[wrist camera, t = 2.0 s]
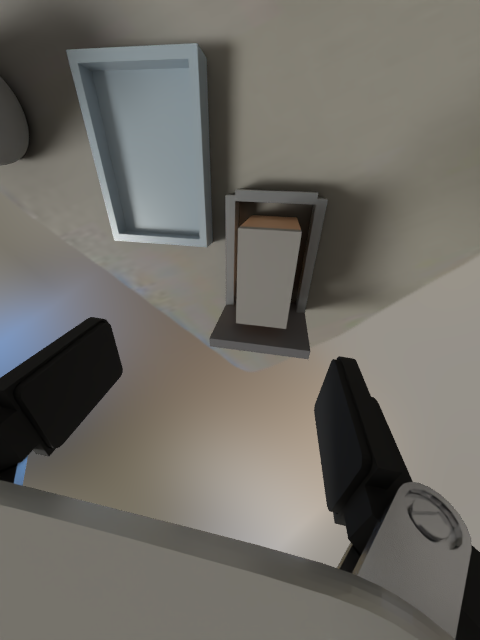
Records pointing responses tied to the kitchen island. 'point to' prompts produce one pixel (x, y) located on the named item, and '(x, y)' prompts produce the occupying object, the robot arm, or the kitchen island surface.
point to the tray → (149, 139)
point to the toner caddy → (266, 269)
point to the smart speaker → (11, 127)
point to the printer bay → (295, 334)
